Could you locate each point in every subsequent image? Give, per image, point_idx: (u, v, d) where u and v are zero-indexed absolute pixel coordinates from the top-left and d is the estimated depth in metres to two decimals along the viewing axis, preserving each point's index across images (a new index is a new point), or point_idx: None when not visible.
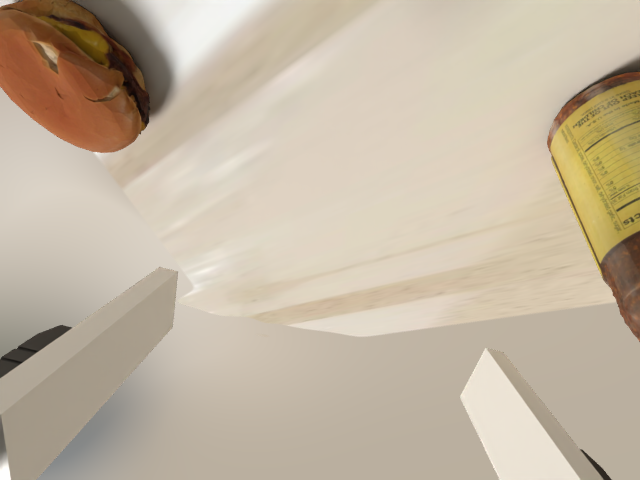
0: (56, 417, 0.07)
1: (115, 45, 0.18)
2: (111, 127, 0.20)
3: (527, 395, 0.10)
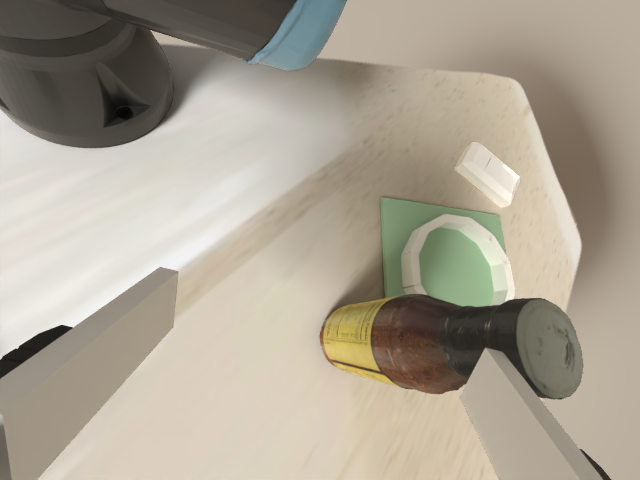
0: (57, 417, 0.07)
1: None
2: None
3: (526, 395, 0.10)
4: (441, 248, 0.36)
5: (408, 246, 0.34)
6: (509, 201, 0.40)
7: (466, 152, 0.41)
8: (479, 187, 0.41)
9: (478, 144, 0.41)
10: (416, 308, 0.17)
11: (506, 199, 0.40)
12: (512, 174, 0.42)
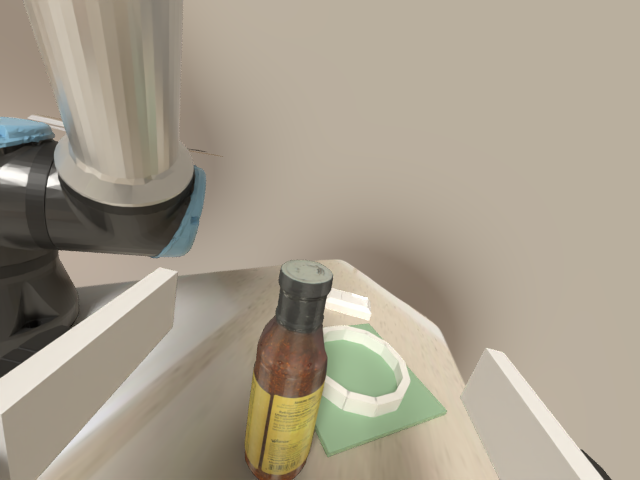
0: (56, 417, 0.07)
1: None
2: None
3: (527, 395, 0.10)
4: (336, 354, 0.43)
5: None
6: (369, 312, 0.54)
7: None
8: (346, 312, 0.55)
9: None
10: (267, 325, 0.25)
11: (366, 312, 0.54)
12: (362, 298, 0.58)
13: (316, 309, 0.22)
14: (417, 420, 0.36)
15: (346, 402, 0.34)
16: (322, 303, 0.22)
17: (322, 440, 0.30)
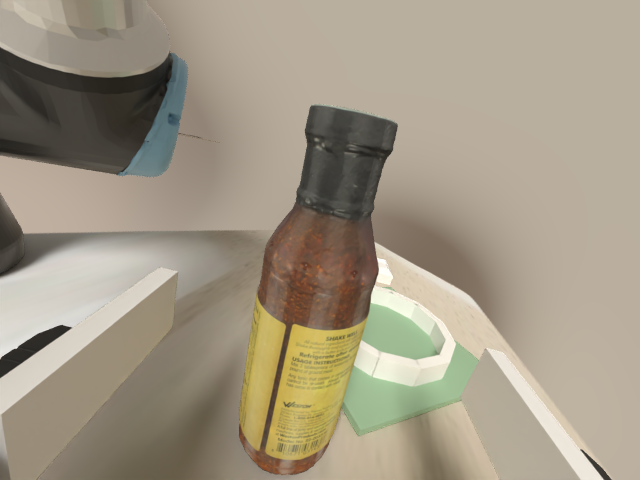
0: (56, 417, 0.07)
1: None
2: None
3: (527, 395, 0.10)
4: None
5: None
6: (390, 275, 0.46)
7: None
8: None
9: None
10: None
11: (387, 274, 0.46)
12: (379, 261, 0.49)
13: (369, 176, 0.13)
14: None
15: (378, 366, 0.25)
16: (379, 169, 0.13)
17: (349, 413, 0.21)
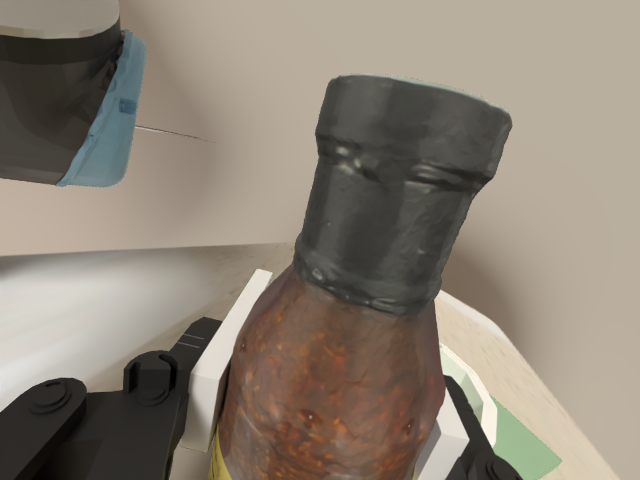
0: (226, 388, 0.09)
1: None
2: None
3: None
4: None
5: None
6: None
7: None
8: None
9: None
10: (263, 294, 0.09)
11: None
12: None
13: (449, 230, 0.06)
14: None
15: None
16: (465, 214, 0.06)
17: None
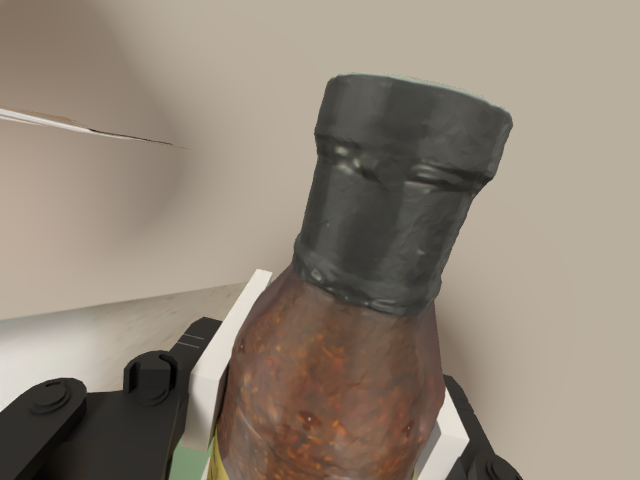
0: None
1: None
2: None
3: None
4: None
5: None
6: None
7: None
8: None
9: None
10: (262, 294, 0.09)
11: None
12: None
13: (449, 230, 0.06)
14: None
15: None
16: (465, 214, 0.06)
17: None
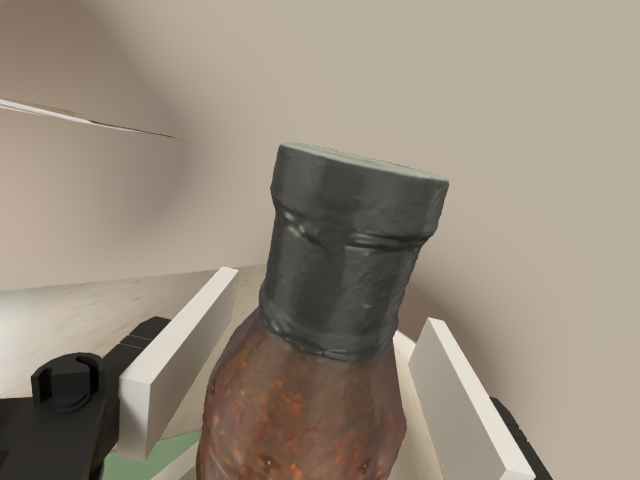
0: (170, 392, 0.08)
1: None
2: None
3: (453, 353, 0.11)
4: None
5: None
6: None
7: None
8: None
9: None
10: (236, 331, 0.09)
11: None
12: None
13: (395, 283, 0.06)
14: None
15: None
16: (412, 265, 0.07)
17: None
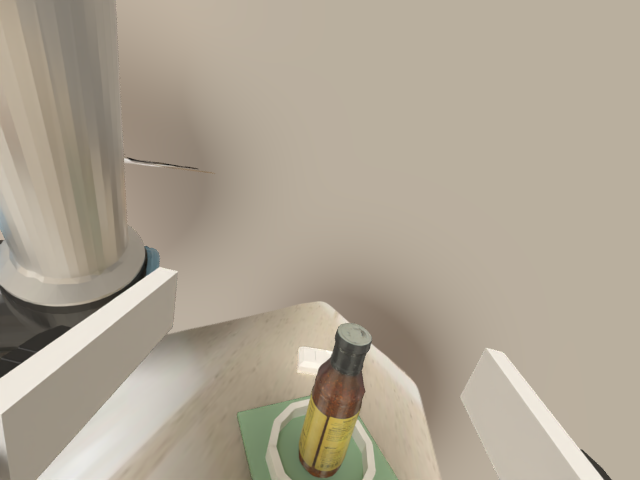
0: (56, 417, 0.07)
1: None
2: None
3: (527, 395, 0.10)
4: None
5: (268, 444, 0.38)
6: None
7: (298, 356, 0.55)
8: None
9: (302, 347, 0.56)
10: (321, 366, 0.35)
11: None
12: None
13: (360, 360, 0.32)
14: None
15: None
16: (364, 356, 0.33)
17: None
